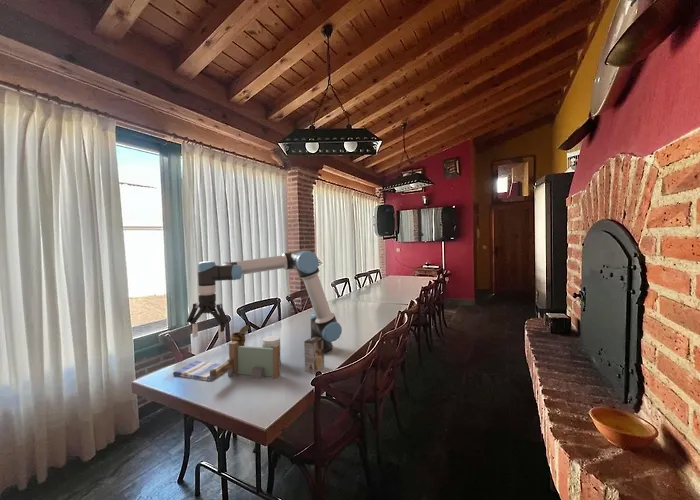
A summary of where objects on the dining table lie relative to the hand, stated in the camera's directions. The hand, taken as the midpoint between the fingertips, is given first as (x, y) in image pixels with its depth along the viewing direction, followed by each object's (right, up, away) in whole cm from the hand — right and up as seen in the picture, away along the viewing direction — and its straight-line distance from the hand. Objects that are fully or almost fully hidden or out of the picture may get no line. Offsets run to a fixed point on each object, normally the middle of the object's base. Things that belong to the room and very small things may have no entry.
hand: (208, 337), depth 146 cm
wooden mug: (+2, -20, +38) cm, 43 cm away
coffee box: (+50, -21, +14) cm, 56 cm away
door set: (+20, -21, +7) cm, 30 cm away
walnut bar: (+7, -17, 0) cm, 18 cm away
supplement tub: (+26, -21, +20) cm, 39 cm away
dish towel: (-8, -22, +13) cm, 27 cm away
